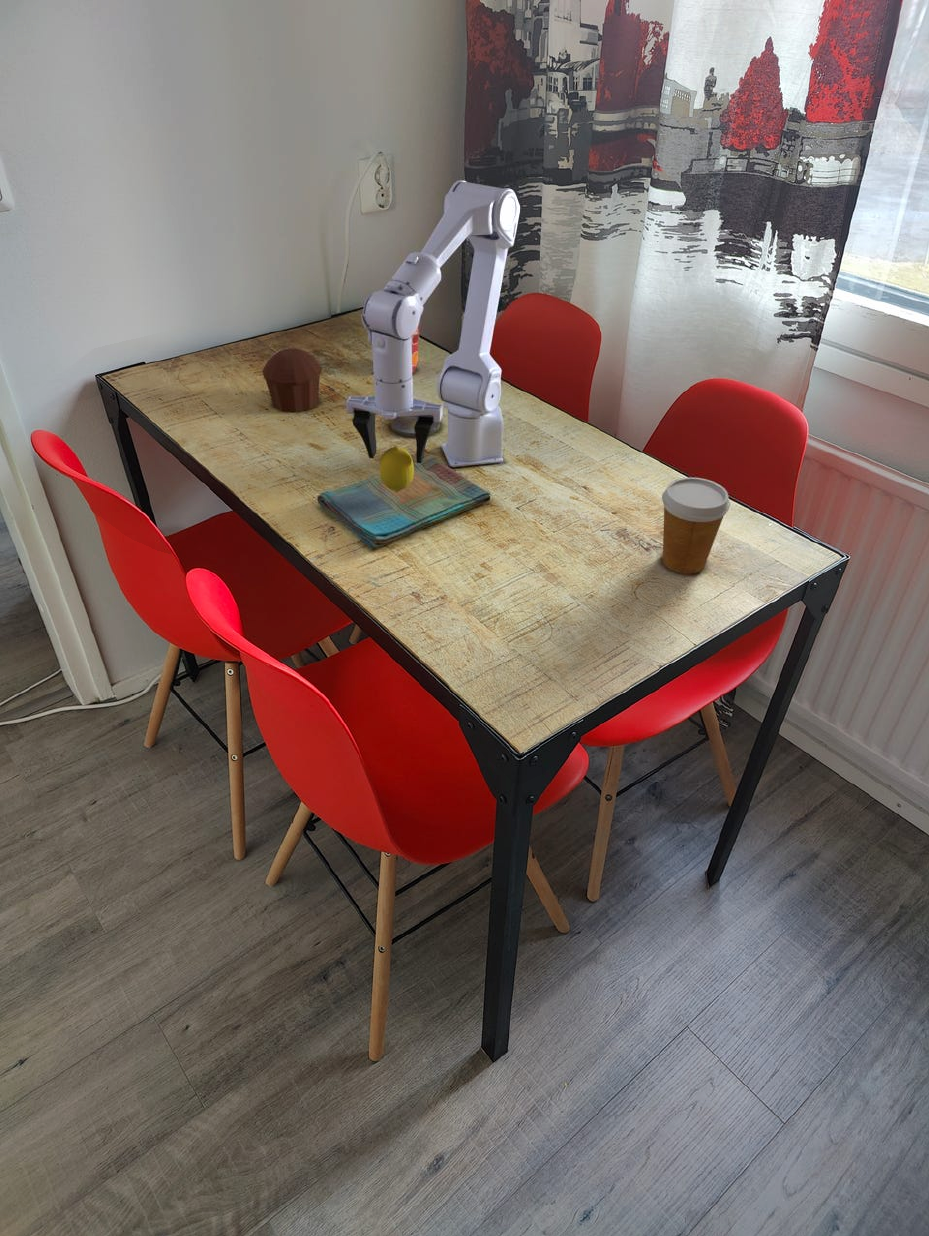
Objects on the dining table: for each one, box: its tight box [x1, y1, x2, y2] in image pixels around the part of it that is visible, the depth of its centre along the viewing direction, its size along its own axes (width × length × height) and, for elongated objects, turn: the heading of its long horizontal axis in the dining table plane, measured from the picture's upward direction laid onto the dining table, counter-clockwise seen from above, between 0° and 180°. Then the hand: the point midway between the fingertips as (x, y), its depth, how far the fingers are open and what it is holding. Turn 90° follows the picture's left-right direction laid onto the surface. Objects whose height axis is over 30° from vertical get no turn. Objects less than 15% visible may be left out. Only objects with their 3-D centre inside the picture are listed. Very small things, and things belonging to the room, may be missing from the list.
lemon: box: [378, 445, 414, 492], centre depth 142 cm, size 6×6×8 cm
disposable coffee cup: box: [661, 477, 731, 575], centre depth 131 cm, size 10×10×12 cm
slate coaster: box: [390, 417, 441, 438], centre depth 168 cm, size 9×9×1 cm
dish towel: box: [316, 456, 491, 550], centre depth 146 cm, size 17×23×2 cm
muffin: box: [262, 347, 323, 413], centre depth 173 cm, size 12×11×10 cm
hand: (396, 457), depth 141 cm, fingers open, 7 cm apart
